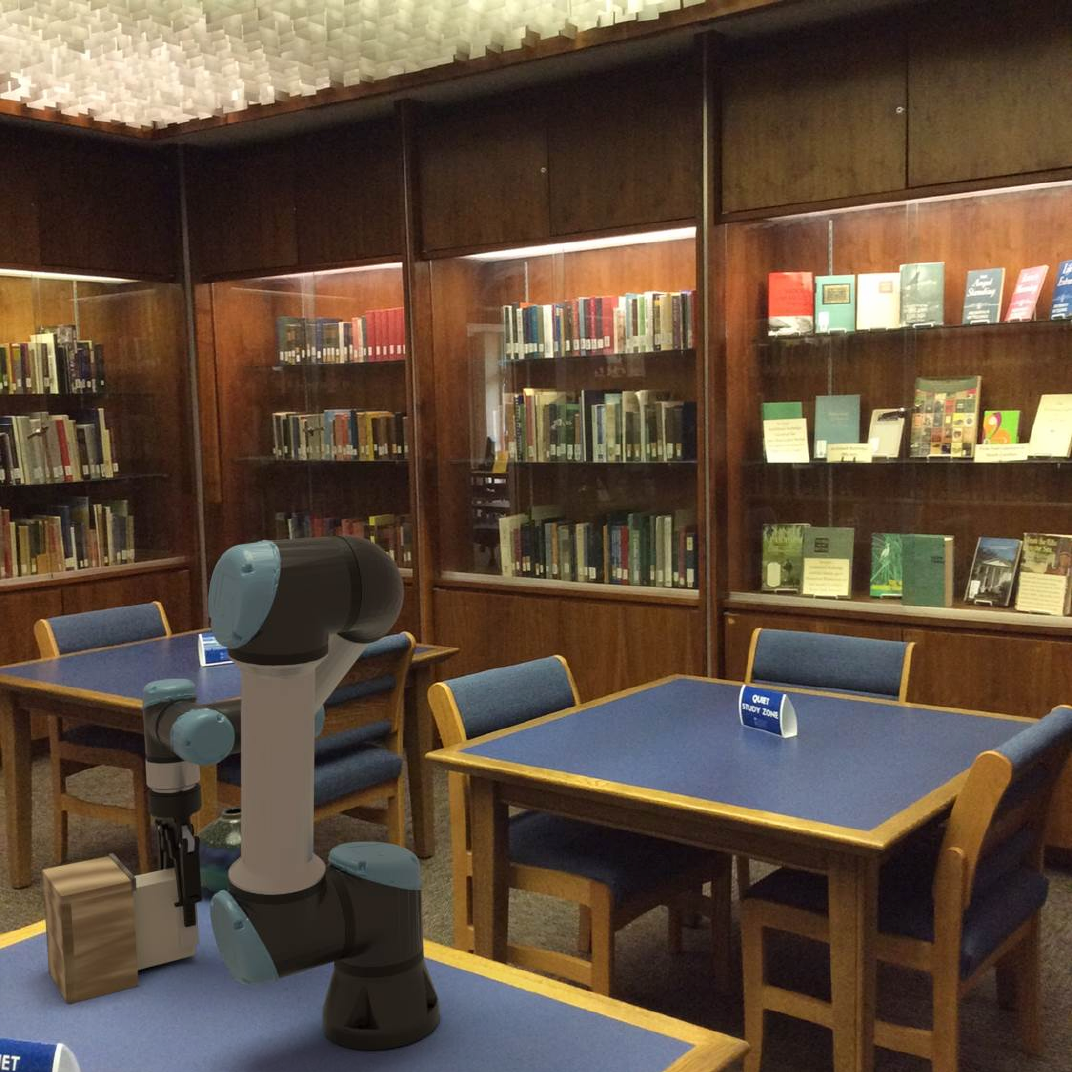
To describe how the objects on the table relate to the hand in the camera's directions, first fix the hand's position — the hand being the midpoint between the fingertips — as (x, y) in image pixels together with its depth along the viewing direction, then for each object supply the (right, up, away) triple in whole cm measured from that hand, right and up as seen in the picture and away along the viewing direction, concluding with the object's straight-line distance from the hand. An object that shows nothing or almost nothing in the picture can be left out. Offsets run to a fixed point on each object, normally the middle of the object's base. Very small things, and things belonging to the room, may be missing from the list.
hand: (182, 939), depth 183 cm
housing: (-11, -3, -7) cm, 13 cm away
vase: (+2, 0, +28) cm, 28 cm away
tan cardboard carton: (-3, -2, -2) cm, 4 cm away
